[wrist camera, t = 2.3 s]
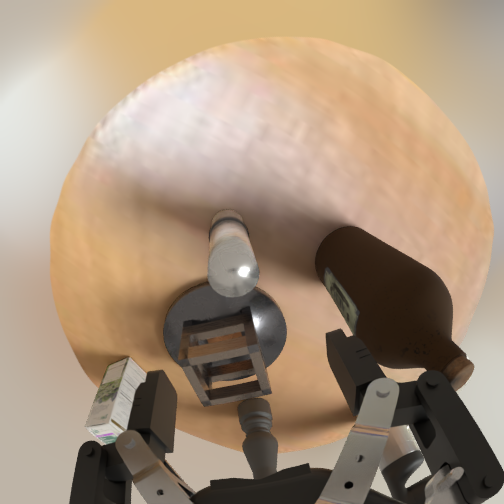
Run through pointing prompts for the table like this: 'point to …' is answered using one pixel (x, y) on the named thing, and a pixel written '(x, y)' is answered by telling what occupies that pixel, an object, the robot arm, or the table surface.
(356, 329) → the olive oil
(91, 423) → the syrup box
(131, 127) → the table surface
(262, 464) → the candle holder
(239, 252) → the silver metal bottle
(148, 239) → the table surface
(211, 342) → the collar stand
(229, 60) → the table surface
